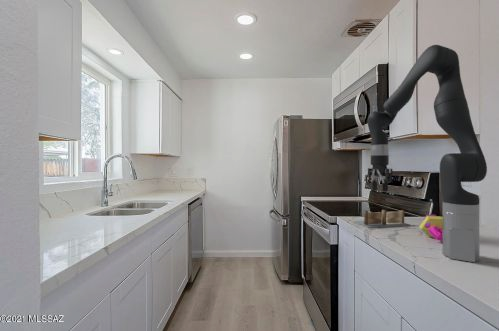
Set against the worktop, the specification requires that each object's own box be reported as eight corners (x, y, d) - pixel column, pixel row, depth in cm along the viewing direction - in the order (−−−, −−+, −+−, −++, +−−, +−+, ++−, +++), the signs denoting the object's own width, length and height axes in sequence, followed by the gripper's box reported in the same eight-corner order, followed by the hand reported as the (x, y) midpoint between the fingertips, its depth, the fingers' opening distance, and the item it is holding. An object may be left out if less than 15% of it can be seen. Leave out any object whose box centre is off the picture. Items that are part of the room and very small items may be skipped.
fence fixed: (383, 225, 127) (383, 210, 127) (380, 225, 129) (380, 209, 129) (405, 224, 129) (405, 209, 129) (402, 224, 131) (402, 209, 131)
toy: (423, 244, 100) (438, 223, 96) (410, 221, 116) (423, 202, 112) (450, 256, 98) (467, 235, 94) (434, 231, 114) (447, 212, 111)
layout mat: (368, 227, 123) (368, 226, 123) (353, 222, 135) (353, 221, 135) (410, 225, 127) (409, 224, 127) (392, 220, 139) (392, 219, 139)
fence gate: (379, 223, 129) (379, 210, 129) (382, 223, 127) (382, 210, 127) (363, 223, 127) (363, 210, 127) (365, 224, 125) (365, 211, 125)
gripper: (398, 154, 115) (398, 192, 115) (376, 155, 129) (376, 189, 129) (383, 154, 113) (383, 192, 113) (362, 155, 127) (362, 189, 127)
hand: (379, 190), depth 121 cm, fingers open, 6 cm apart
